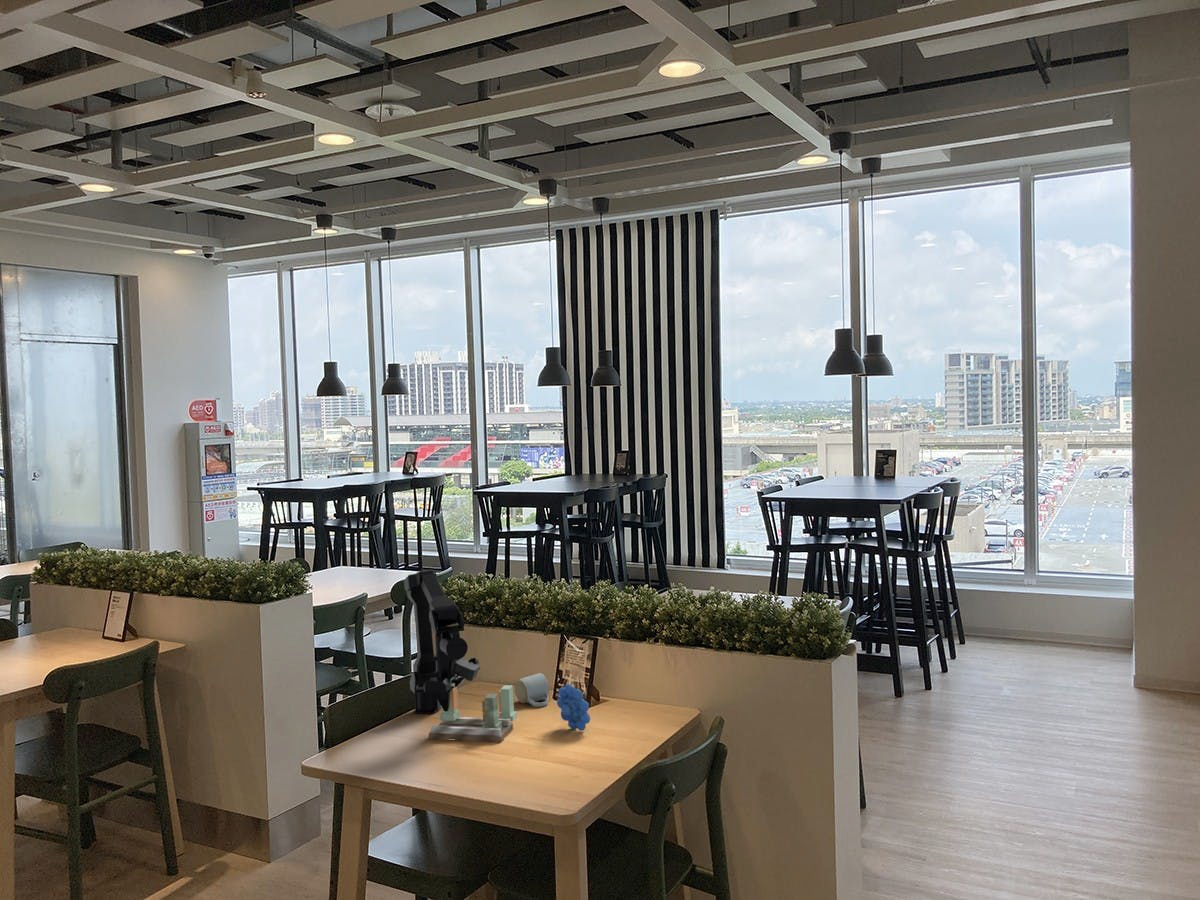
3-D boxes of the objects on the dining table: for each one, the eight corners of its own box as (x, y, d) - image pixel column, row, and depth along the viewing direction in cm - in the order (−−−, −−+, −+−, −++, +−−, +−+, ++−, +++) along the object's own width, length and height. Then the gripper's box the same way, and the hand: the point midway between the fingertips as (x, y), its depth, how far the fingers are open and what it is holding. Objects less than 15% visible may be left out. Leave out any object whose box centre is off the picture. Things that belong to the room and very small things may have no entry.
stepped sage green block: (439, 720, 257) (438, 686, 257) (445, 715, 261) (443, 682, 260) (453, 720, 256) (452, 687, 256) (459, 715, 260) (457, 682, 260)
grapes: (547, 729, 259) (545, 685, 258) (565, 722, 264) (563, 679, 263) (578, 738, 251) (576, 692, 250) (596, 731, 256) (594, 686, 255)
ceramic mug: (513, 701, 285) (512, 675, 284) (537, 695, 290) (536, 670, 289) (531, 710, 276) (530, 684, 276) (556, 704, 281) (555, 678, 280)
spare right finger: (498, 721, 267) (497, 689, 267) (503, 716, 271) (502, 684, 271) (512, 721, 266) (511, 689, 266) (517, 717, 270) (515, 685, 270)
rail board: (428, 739, 255) (426, 699, 254) (443, 726, 264) (441, 688, 264) (501, 742, 250) (499, 702, 250) (513, 729, 260) (511, 690, 259)
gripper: (462, 661, 247) (465, 721, 247) (486, 642, 265) (489, 699, 266) (421, 660, 249) (424, 719, 250) (448, 642, 267) (451, 697, 268)
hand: (448, 708), depth 258 cm, fingers closed on stepped sage green block, 4 cm apart
